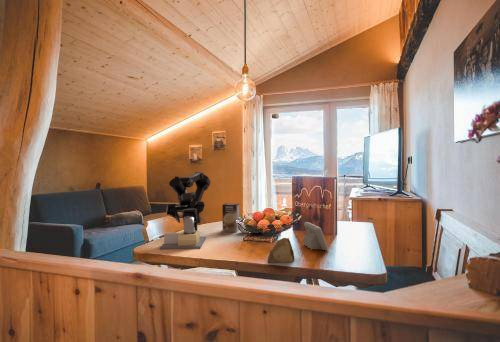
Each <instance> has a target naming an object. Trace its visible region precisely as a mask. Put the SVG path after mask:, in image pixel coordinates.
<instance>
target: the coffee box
mask: <svg viewBox="0 0 500 342" xmlns="http://www.w3.org/2000/svg"><path fill="white" fill-rule="evenodd" d="M238 218H239V219H240V203H233V202H232V203H228V202H227V203H222V232H223V233H224V232H228V233H237V232H240V230H239V228H238V224H237V223H236V220H237V219H238Z"/></svg>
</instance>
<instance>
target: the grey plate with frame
mask: <svg viewBox="0 0 500 342" xmlns="http://www.w3.org/2000/svg"><path fill="white" fill-rule="evenodd" d="M200 233H201V232H200V230H197V231H195V228H194V234H184V230H181V231H180V232H164V234H163V235H164V236H163V238H164V242H163V244H162V245H160V246H159V250H187V249H188V250H191V249H194V250H195V249H196V250H198V249H201V248H202V246H203V244H204V243H205V241H206V239H207V236H206V235H205V236H201V234H200Z"/></svg>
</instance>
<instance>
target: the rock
mask: <svg viewBox="0 0 500 342" xmlns="http://www.w3.org/2000/svg"><path fill="white" fill-rule="evenodd" d="M295 260H296V259H295V254H294V249H293V246H292V243H291V241H290V238H289V237H283V238H280V239H279V240H276V243H275V244H274V246H273V248H272V249H270V251H269V254H268V257H267V262H268V263H291V262H292V263H293V262H294V261H295Z"/></svg>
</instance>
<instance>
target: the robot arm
mask: <svg viewBox="0 0 500 342" xmlns="http://www.w3.org/2000/svg"><path fill="white" fill-rule="evenodd" d="M194 183H195V186H196V190H195V191H191V192H188V189H187V188H192V187H193V185H194ZM168 185H169V187H170V188H171V189H172V190H173V192H174V193H176V196H177V201H178V202H177V204H178V205H176V203H168V204H167V205H166V209H165V210H166V211H165V213H166V215H167V216H170V217H173V218H174V220H176V221H177V222H178V223H179V224H180V223H181V221H180V220H181V219H180V216H179V212H178V211H182V210H183V213H182V219H183V218H184V217H187V216H192V217H194V228H195V231H198V224H201V223H202V217H201V216H200V213H202V212H203V211H204V208H205V202H204V201H202V198H203V196H204V193H205V191H207V190H208V189H209V188H210V186H211V180H210V178H209V176H208V175H206V174H205V173H204V172H203V171H195V172H194V173H191V174H189V175H187V176H180V177H179V176H174V178H172V179H171V180H170V181H169V183H168Z"/></svg>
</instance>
